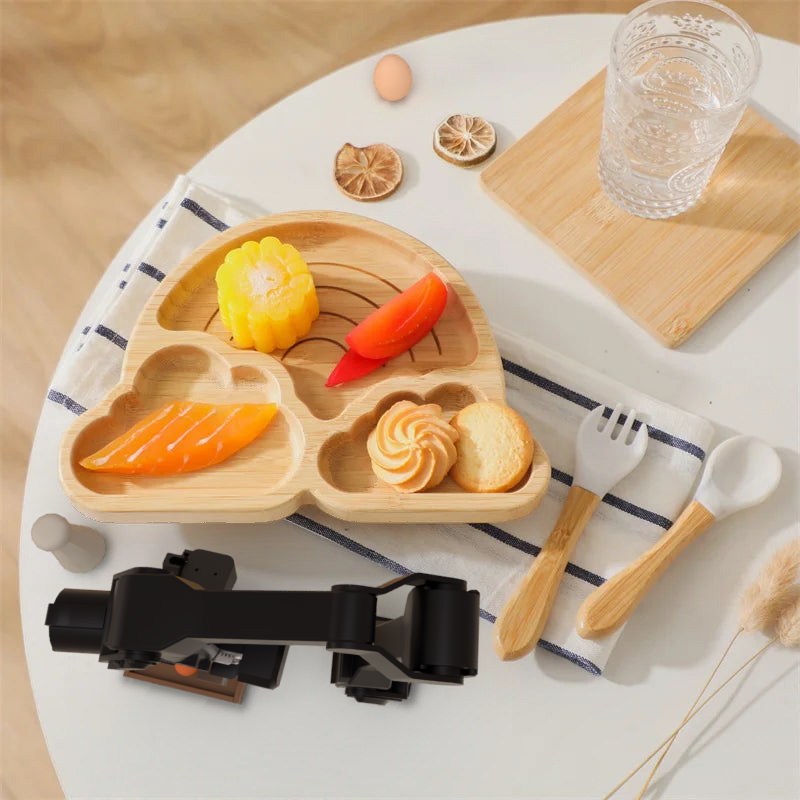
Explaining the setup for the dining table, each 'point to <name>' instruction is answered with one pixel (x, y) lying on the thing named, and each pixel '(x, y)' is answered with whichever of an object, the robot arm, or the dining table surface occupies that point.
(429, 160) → the dining table surface
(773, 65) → the dining table surface
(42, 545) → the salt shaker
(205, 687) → the tray
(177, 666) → the ball
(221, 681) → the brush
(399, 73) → the egg
